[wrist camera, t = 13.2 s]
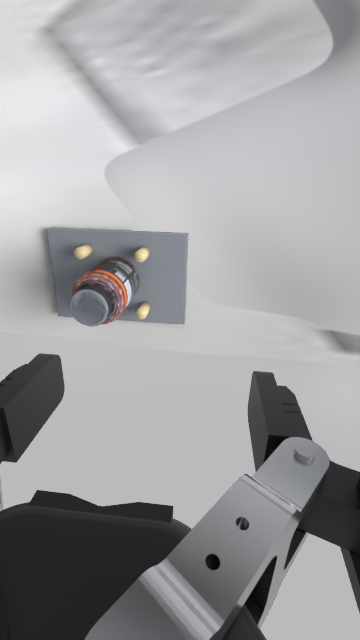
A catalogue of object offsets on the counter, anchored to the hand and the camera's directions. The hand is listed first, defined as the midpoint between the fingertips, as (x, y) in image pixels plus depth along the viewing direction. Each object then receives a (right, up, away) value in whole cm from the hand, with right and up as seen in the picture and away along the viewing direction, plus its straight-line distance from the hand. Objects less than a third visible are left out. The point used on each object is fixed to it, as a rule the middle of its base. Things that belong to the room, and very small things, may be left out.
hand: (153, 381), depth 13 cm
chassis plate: (-7, +9, +30) cm, 32 cm away
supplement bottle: (-7, +8, +29) cm, 31 cm away
